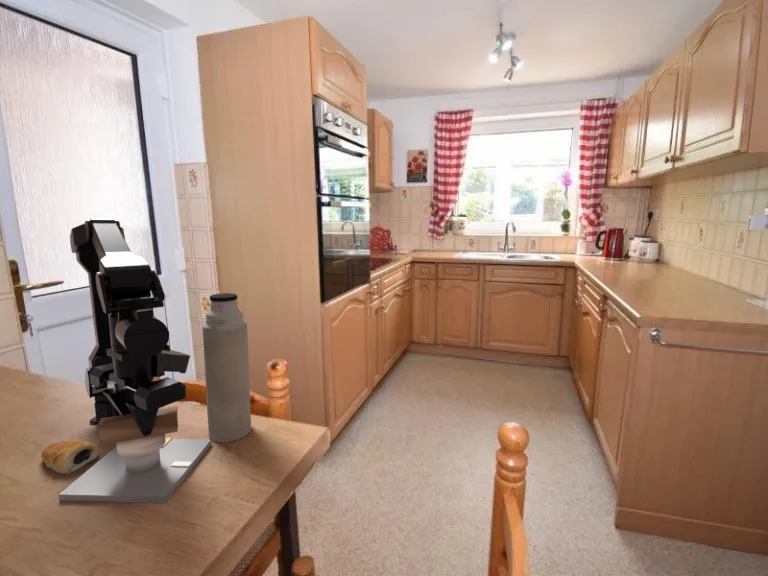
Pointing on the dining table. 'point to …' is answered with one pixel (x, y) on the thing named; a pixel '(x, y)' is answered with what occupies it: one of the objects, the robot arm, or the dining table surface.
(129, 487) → the plate
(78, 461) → the pastry
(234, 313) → the thermos bottle
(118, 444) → the rotary knob
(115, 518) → the dining table surface
